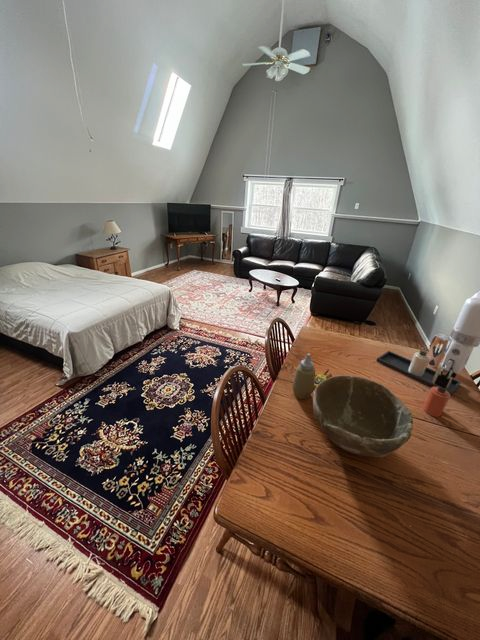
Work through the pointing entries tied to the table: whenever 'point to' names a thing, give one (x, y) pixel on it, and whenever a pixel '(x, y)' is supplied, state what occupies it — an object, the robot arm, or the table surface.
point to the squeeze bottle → (304, 378)
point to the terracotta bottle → (436, 401)
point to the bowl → (361, 415)
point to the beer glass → (438, 349)
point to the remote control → (319, 379)
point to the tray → (403, 366)
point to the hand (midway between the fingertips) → (444, 380)
